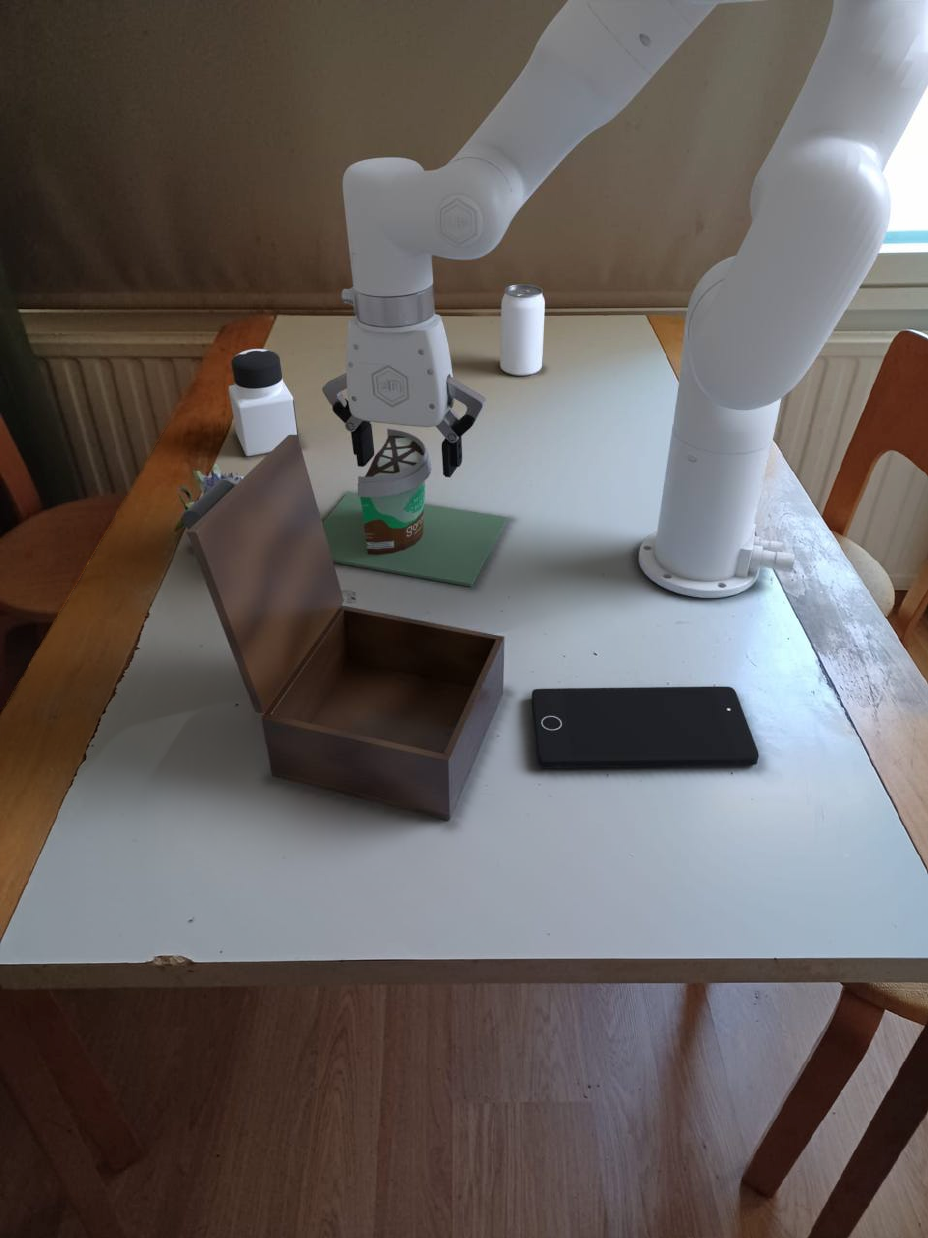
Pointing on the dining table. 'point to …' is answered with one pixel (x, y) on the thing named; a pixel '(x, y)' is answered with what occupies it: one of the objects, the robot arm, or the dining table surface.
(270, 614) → the lid
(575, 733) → the cell phone
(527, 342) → the can
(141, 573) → the dining table surface
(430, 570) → the mat
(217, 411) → the dining table surface
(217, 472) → the passion flower
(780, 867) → the dining table surface
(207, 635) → the dining table surface
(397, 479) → the food container
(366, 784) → the chest
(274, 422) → the medicine bottle
